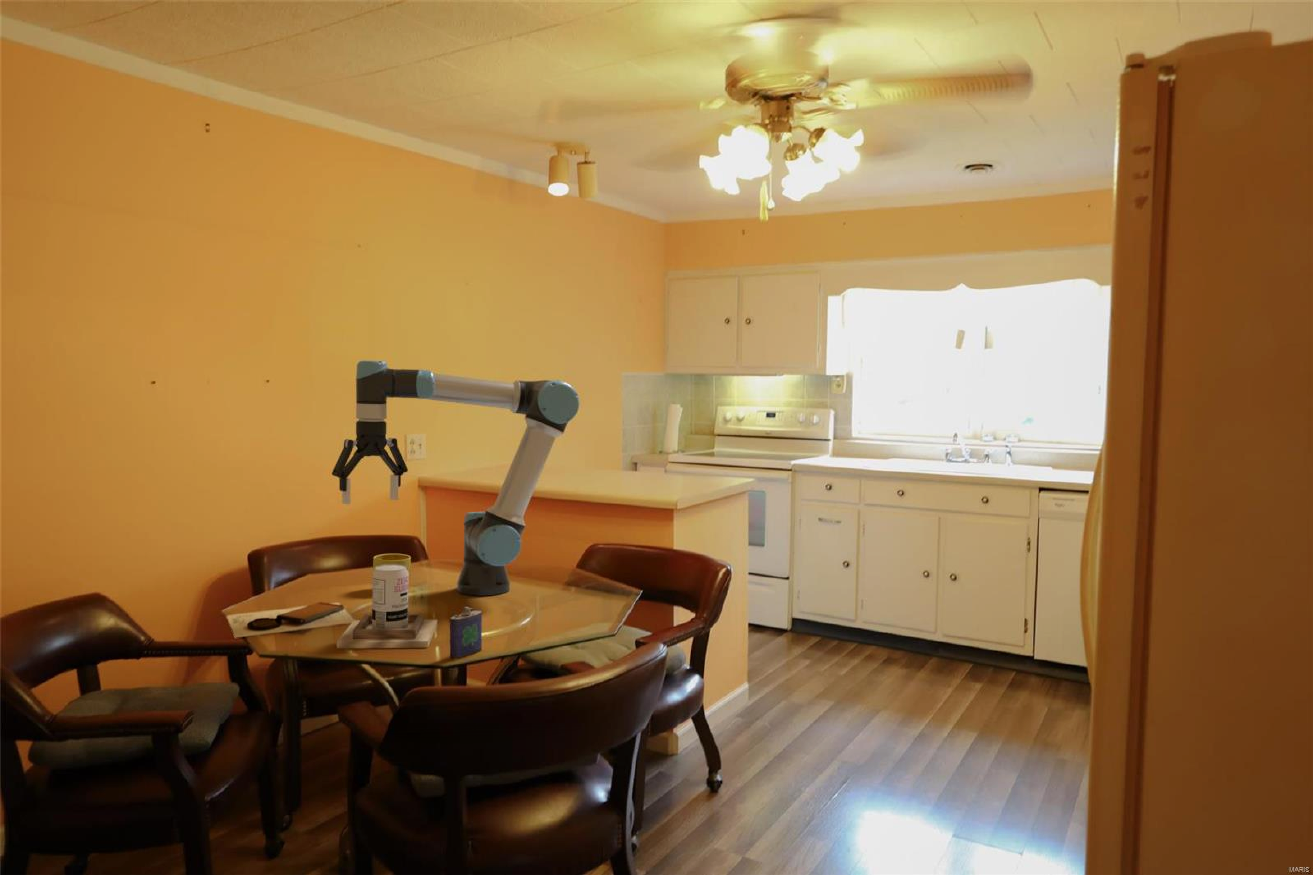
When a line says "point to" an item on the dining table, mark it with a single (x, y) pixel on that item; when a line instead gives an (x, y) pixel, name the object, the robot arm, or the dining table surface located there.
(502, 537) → the robot arm
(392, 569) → the supplement can
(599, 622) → the dining table surface
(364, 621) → the oak stand
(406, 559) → the plant pot
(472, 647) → the flask
